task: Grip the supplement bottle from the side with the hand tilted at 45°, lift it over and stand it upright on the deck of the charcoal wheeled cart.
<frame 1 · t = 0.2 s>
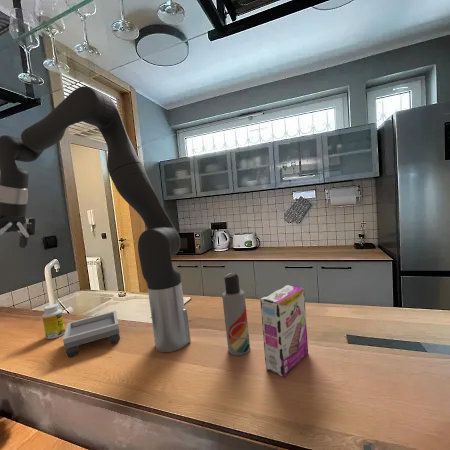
hand: (8, 249, 85), 30 cm above the countertop, tool tilted 20°, fingers open, 8 cm apart
wheeled cart: (95, 341, 79), on the countertop
lotion bottle: (239, 350, 67), on the countertop
supplement bottle: (56, 336, 87), on the countertop
candy bar box: (288, 362, 60), on the countertop
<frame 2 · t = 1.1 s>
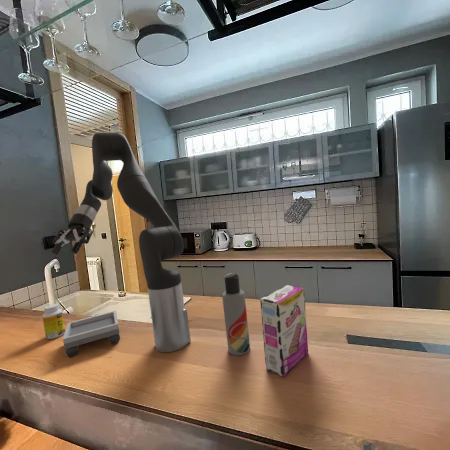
hand: (63, 253, 93), 26 cm above the countertop, tool tilted 45°, fingers open, 8 cm apart
nothing on the countertop moved.
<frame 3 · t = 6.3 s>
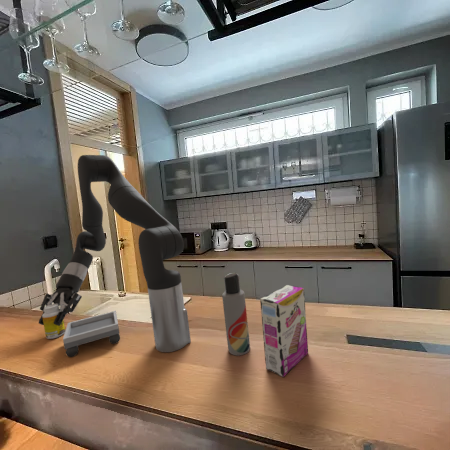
hand: (49, 324, 85), 5 cm above the countertop, tool tilted 45°, fingers closed on supplement bottle, 5 cm apart
supplement bottle: (56, 335, 87), on the countertop, touching gripper
everything else where it was.
when the fingers open (11 cm above the countertop, at t = 12.1 s): supplement bottle drops 1 cm, resting on wheeled cart.
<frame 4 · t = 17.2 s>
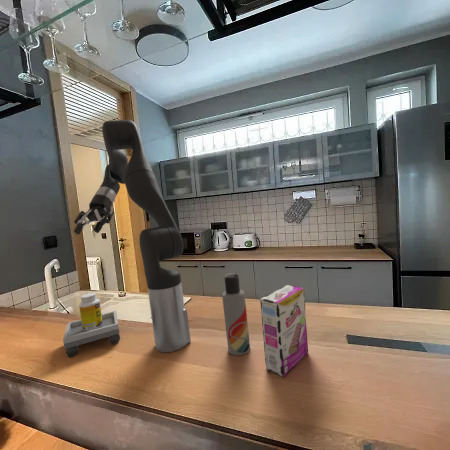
hand: (86, 232, 94), 33 cm above the countertop, tool tilted 45°, fingers open, 8 cm apart
supplement bottle: (93, 328, 79), point 4 cm above the countertop, touching wheeled cart
everything else where it was.
at the end: supplement bottle inside the target area on the wheeled cart (0.2 cm from its centre), point 4.3 cm above the wheeled cart's base; supplement bottle tilted 0°; the gripper is holding nothing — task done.
